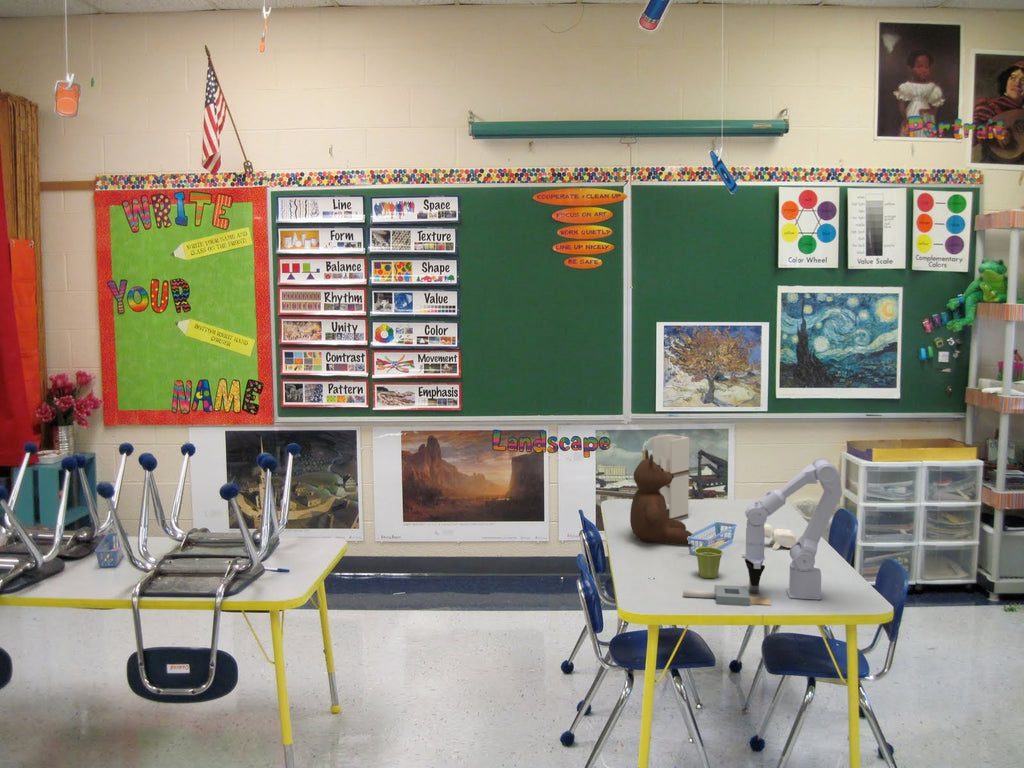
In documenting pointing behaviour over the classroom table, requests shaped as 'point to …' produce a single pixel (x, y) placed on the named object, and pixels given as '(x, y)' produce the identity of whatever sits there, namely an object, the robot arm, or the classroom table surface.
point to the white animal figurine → (780, 537)
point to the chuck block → (723, 595)
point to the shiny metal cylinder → (753, 588)
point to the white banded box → (674, 472)
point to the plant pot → (708, 561)
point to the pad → (760, 601)
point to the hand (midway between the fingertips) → (754, 583)
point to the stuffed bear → (654, 507)
